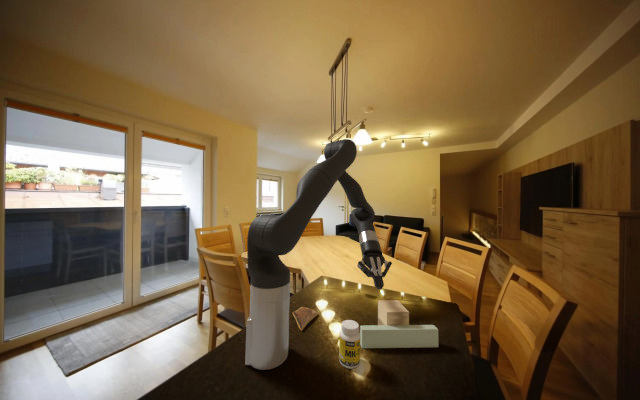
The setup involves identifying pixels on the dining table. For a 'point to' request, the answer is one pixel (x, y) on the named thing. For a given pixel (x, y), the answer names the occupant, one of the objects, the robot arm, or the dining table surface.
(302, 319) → the shard
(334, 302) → the dining table surface
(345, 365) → the supplement bottle
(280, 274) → the robot arm
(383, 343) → the sage fence board
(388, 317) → the birch block
